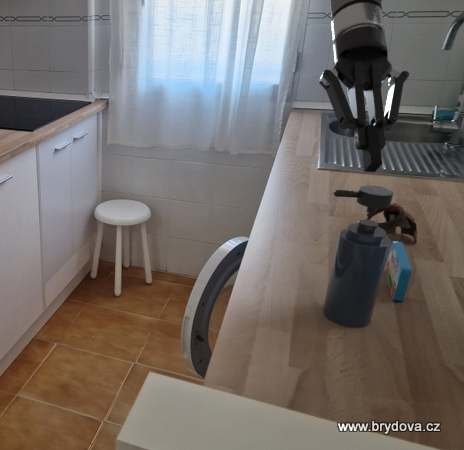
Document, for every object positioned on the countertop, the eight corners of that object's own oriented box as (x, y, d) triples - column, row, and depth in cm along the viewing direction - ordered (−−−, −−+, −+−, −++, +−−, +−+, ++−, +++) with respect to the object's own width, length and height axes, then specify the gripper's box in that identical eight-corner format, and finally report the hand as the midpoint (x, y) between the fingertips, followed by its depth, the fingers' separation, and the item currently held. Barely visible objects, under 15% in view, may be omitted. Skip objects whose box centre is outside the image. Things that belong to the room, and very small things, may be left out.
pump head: (381, 207, 82) (386, 186, 81) (392, 218, 78) (398, 196, 77) (326, 204, 83) (330, 183, 82) (334, 215, 79) (339, 193, 78)
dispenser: (361, 306, 90) (384, 215, 84) (377, 329, 84) (403, 233, 77) (317, 302, 91) (336, 212, 85) (329, 326, 85) (351, 230, 78)
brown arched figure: (422, 252, 109) (411, 220, 106) (371, 261, 115) (358, 231, 112) (418, 218, 118) (407, 188, 115) (370, 227, 124) (359, 199, 121)
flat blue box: (385, 270, 102) (392, 240, 99) (394, 271, 101) (402, 241, 99) (392, 300, 91) (401, 268, 89) (402, 302, 91) (412, 270, 88)
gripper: (391, 55, 91) (408, 181, 83) (309, 54, 93) (318, 177, 85) (412, 23, 84) (433, 157, 76) (324, 23, 86) (335, 153, 78)
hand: (373, 167), depth 80 cm, fingers closed
